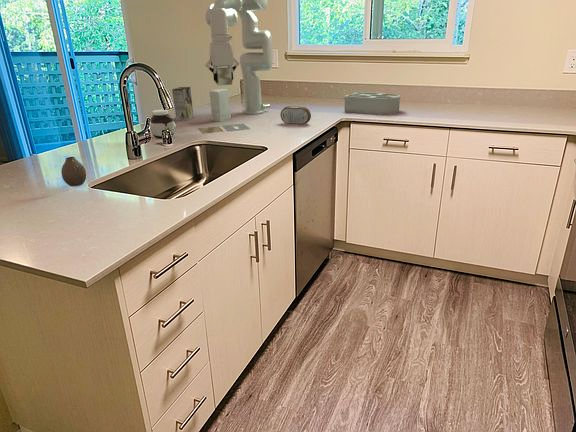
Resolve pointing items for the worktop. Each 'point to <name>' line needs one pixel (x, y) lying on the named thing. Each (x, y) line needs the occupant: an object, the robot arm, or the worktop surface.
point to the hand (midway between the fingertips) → (223, 81)
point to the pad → (210, 130)
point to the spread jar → (161, 123)
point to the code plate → (235, 127)
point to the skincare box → (220, 104)
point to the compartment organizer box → (372, 103)
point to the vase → (73, 172)
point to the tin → (295, 115)
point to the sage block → (224, 76)
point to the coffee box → (183, 103)
